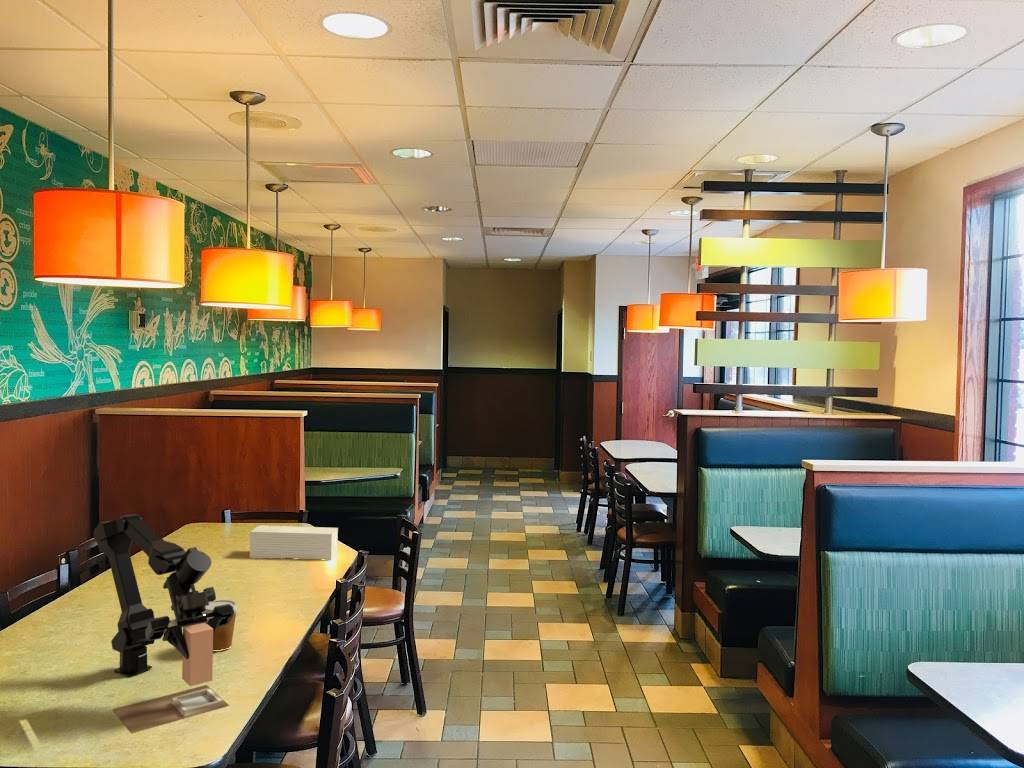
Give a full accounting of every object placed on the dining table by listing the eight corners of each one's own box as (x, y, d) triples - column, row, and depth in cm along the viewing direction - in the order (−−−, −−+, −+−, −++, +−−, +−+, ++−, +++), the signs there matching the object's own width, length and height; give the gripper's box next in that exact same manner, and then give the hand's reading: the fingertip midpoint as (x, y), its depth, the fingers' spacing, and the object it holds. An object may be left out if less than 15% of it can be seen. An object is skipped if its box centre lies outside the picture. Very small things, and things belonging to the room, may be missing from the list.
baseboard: (112, 713, 176) (112, 704, 175) (206, 688, 190) (206, 680, 190) (131, 737, 165) (131, 727, 165) (229, 709, 179) (229, 700, 179)
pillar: (182, 678, 179) (183, 627, 179) (204, 673, 182) (205, 622, 182) (190, 686, 175) (190, 633, 175) (212, 680, 179) (213, 628, 178)
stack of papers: (337, 554, 317) (337, 527, 317) (331, 561, 307) (331, 533, 306) (258, 551, 317) (258, 525, 317) (249, 558, 307) (250, 531, 306)
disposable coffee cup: (241, 641, 220) (242, 599, 220) (230, 654, 211) (231, 610, 210) (207, 641, 220) (208, 598, 220) (195, 654, 211) (195, 610, 210)
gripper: (150, 584, 175) (166, 647, 167) (232, 570, 187) (250, 629, 179) (138, 609, 181) (153, 671, 173) (218, 594, 193) (236, 652, 186)
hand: (199, 655), depth 178 cm, fingers closed on pillar, 5 cm apart
